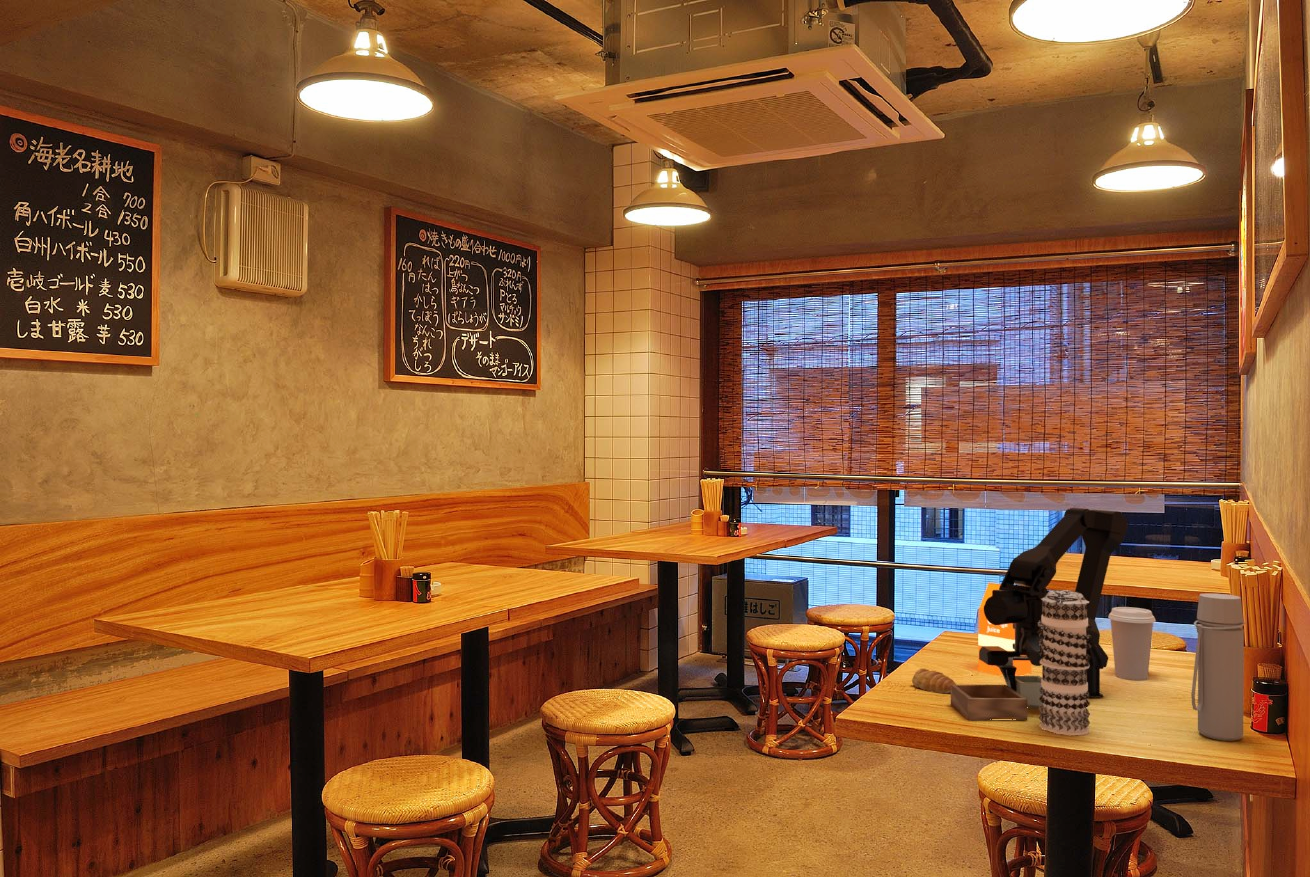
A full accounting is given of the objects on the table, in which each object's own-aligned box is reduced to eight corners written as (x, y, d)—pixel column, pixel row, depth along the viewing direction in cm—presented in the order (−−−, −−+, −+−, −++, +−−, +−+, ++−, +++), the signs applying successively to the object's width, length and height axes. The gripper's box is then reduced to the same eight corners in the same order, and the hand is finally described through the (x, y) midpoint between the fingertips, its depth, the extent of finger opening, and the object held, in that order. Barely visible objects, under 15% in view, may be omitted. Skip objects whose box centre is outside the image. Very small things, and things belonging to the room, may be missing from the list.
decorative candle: (1046, 718, 184) (1046, 586, 184) (1098, 727, 178) (1098, 591, 178) (1029, 729, 177) (1030, 592, 177) (1083, 739, 171) (1083, 597, 171)
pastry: (964, 692, 203) (964, 674, 203) (943, 697, 200) (943, 678, 200) (929, 683, 211) (929, 665, 211) (908, 687, 208) (908, 670, 208)
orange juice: (1013, 678, 215) (1013, 588, 215) (977, 671, 222) (978, 583, 222) (1031, 673, 220) (1032, 585, 220) (996, 666, 227) (997, 580, 227)
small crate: (1038, 700, 197) (1038, 675, 197) (1050, 708, 191) (1050, 682, 191) (1009, 700, 197) (1009, 675, 197) (1020, 708, 191) (1020, 682, 191)
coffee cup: (1109, 679, 214) (1109, 611, 214) (1106, 670, 223) (1106, 605, 223) (1157, 683, 211) (1157, 615, 211) (1153, 674, 220) (1153, 608, 220)
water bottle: (1222, 728, 177) (1222, 592, 178) (1255, 742, 170) (1255, 599, 170) (1177, 731, 176) (1177, 593, 176) (1208, 744, 168) (1209, 600, 168)
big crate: (1005, 704, 193) (1005, 684, 193) (1027, 720, 182) (1027, 699, 182) (950, 704, 193) (950, 684, 193) (969, 720, 182) (969, 699, 182)
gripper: (998, 628, 186) (997, 709, 185) (1095, 628, 186) (1094, 710, 186) (978, 617, 197) (977, 694, 197) (1069, 618, 197) (1069, 695, 197)
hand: (1029, 698), depth 194 cm, fingers closed on small crate, 6 cm apart
